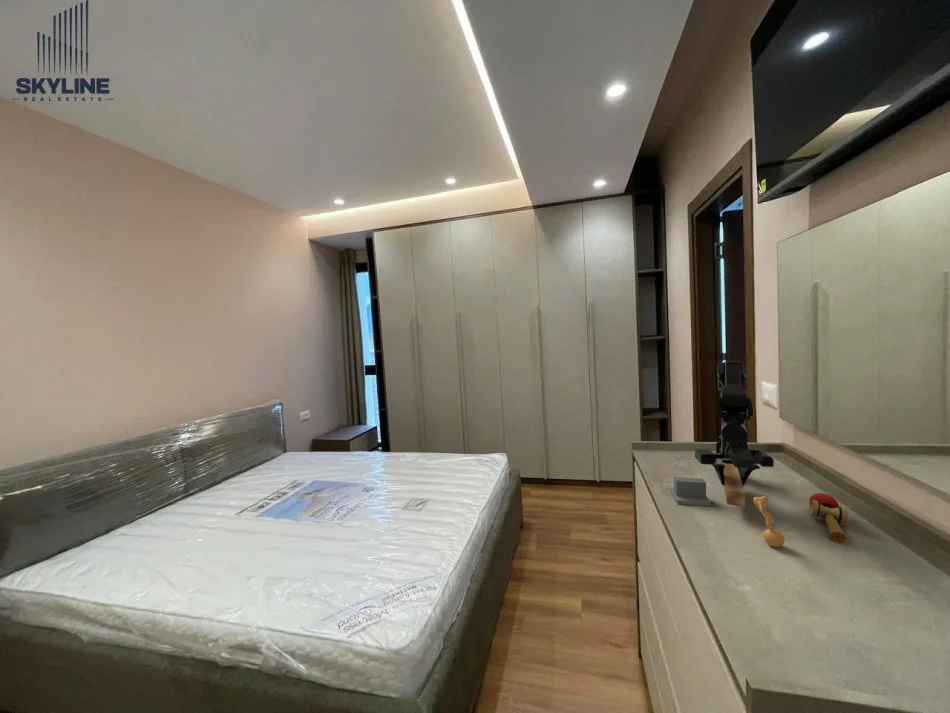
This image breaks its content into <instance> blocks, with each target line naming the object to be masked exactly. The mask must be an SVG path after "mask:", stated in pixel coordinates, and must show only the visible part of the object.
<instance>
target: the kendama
mask: <svg viewBox="0 0 950 713" xmlns="http://www.w3.org/2000/svg"><path fill="white" fill-rule="evenodd" d="M808 504H809V506H808V514H809V516H810V517H812V518H817V517H822V518H825V522H826V527H827V530H828V535H829V539H831V541H833V542H835V543H840V544H843V543H845V542H846V541H847V535H846V534H845V533H844V531H843V530H842V527H846V526H847V525H848V523H849V517H850V516H849V514H850V513H849V509H848V508H847V507H844V506H840V505H839V502H838V501H837V500H836V498H834V496H831V495H830V494H827V493H823V492H817V493H813V494H812V495H811V496H810V497H809V499H808Z"/></svg>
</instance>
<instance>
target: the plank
mask: <svg viewBox="0 0 950 713" xmlns="http://www.w3.org/2000/svg"><path fill="white" fill-rule="evenodd" d="M722 464H723V465H724V466H725V468H724V485H722V486H723V491H724V496H725V500H726V501H725V502H726V505H729V506H734V507H741V508H746V492H745V488H744V486H743V484H742V481H741V478H740V474H739V471H738V468H736V467H734V465H733V464H728V463H722Z"/></svg>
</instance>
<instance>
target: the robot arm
mask: <svg viewBox="0 0 950 713" xmlns="http://www.w3.org/2000/svg"><path fill="white" fill-rule="evenodd" d="M716 368H717V370H716V371H717V372H716V376H717V377H719V383H720V384H721V385H722V388H721V389H720V395H718V396H717V399H718V400H717V418H721V431H720V432H721V433H720V434H719V436H718V441H716V442H715V447H716V448H715V452H713V451H711V449H705V448H703V449H702V448H699V449H698V448H697V449H696V450H695V452H694V458H695V459H696V461H697V462H699V464H701V465H711V466H712V467H713V468H714V470H715V472H716V475H717V477H718V479H719V481H720V484H721V485H722V486H723V485H724V468H725V466H724V465H723V464H722V463H728V464H733V465H734V467H736V468H738V471H739V474H740V478H741V481H742V484H743V487H744V486H745V485H746V483H747V480H748V478H749V476H750V475H751V473H752V472H753V471H755V470H759V469H760V468H761V467H763V468H764V467H765V468H774V467H775V460H774V458H773V457H772V456H771V455H770V454H768V453H766V452H765V451H762V450H760V449H749V446H748V441H747V439H748V431H747V427H746V420H747V421H751V417H753V416H754V407H753V401H752V400H751V397H748V394H747V392H748V391H747V389H745V388H743V387H742V384H743V383H744V382H745V378H747V376H748V365H747V364H745V363H743V362H742V361H740V360H725V361H723V362H721V363H718V364H717V366H716Z"/></svg>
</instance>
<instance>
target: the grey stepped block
mask: <svg viewBox="0 0 950 713" xmlns="http://www.w3.org/2000/svg"><path fill="white" fill-rule="evenodd" d="M669 492H670V494H671V496H672V498H673V499H674V501H675V502H676V504H677V505H687V504H688V505H689V504H690V505H689V506H701V507H702V506H705V507H711V506H712V501H711V500H710V499H709V498H708V496H707V482H706V481H705V480H704V479H703V478H702V477H700V478H699V477H697V478H695V477H681V476H680V477H678V476H677V477H676V476H674V477H673V487H672V488H671V487H669Z"/></svg>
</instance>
